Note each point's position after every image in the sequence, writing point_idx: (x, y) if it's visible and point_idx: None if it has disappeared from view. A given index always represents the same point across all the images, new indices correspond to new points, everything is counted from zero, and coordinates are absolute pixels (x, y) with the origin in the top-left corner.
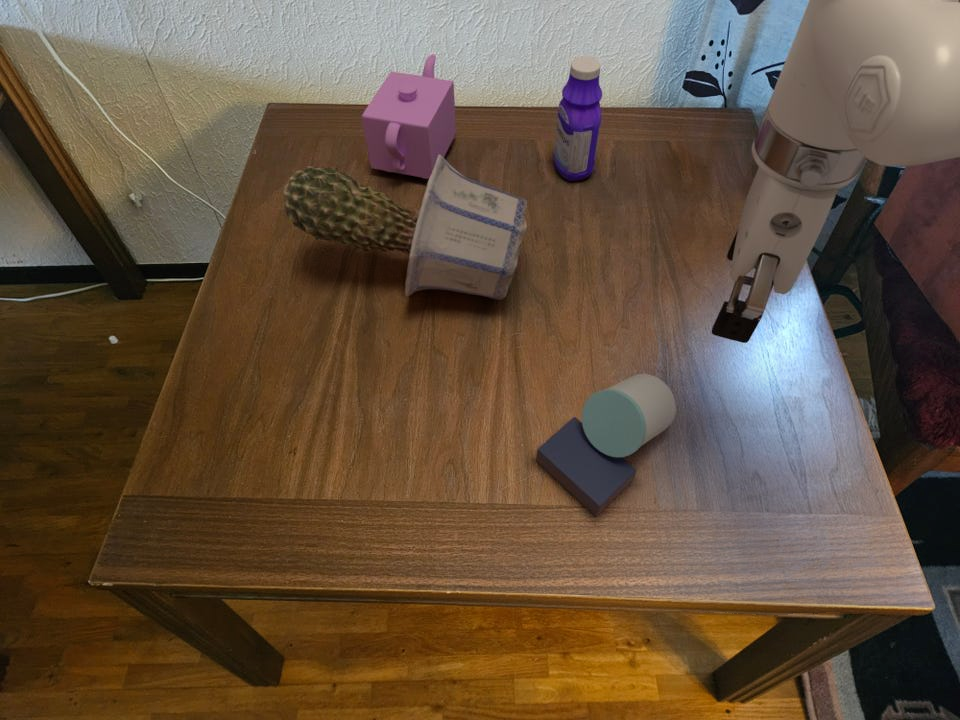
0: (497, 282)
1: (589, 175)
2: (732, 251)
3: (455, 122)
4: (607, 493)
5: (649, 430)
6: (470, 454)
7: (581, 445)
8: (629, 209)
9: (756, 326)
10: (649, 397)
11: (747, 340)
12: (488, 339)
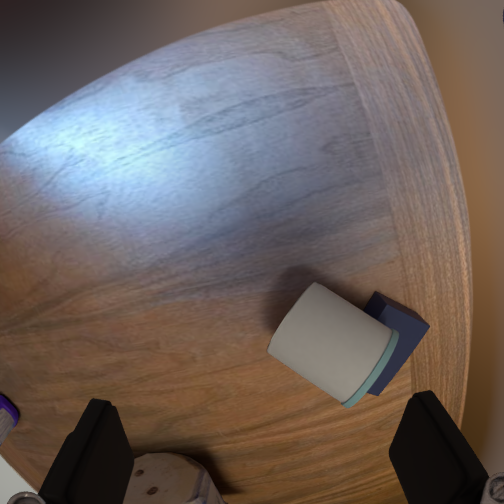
0: (208, 494)
1: (2, 397)
2: (126, 481)
3: None
4: (417, 324)
5: (378, 331)
6: (370, 421)
7: None
8: (7, 357)
9: (462, 436)
10: (337, 352)
11: (432, 395)
12: (240, 449)
